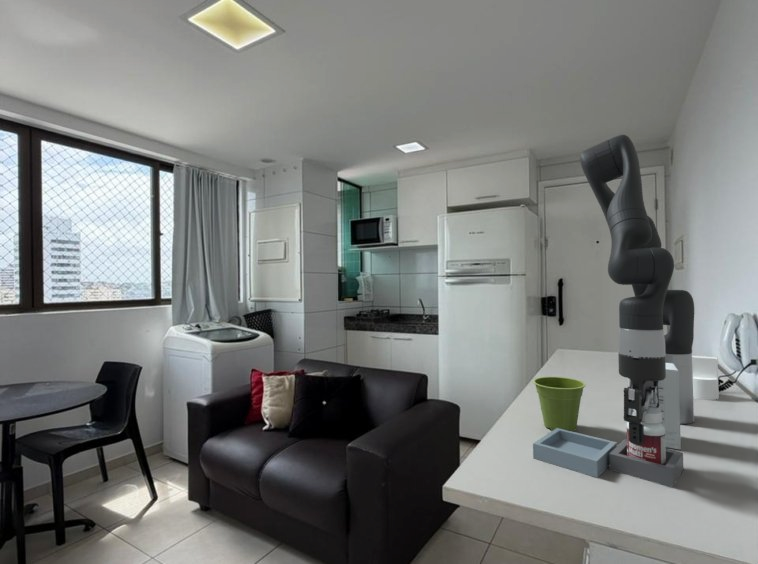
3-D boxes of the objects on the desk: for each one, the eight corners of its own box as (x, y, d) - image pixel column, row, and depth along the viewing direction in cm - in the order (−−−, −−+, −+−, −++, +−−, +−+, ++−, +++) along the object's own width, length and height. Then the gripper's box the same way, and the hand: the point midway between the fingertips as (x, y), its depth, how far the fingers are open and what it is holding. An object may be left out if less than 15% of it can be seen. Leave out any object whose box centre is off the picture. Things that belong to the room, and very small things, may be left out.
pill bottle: (624, 470, 75) (623, 410, 75) (630, 459, 80) (628, 402, 80) (664, 480, 71) (663, 417, 71) (667, 467, 76) (666, 408, 76)
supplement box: (681, 450, 83) (679, 370, 84) (629, 442, 88) (628, 366, 88) (676, 435, 92) (674, 362, 92) (629, 428, 96) (627, 359, 97)
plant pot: (527, 419, 104) (526, 376, 104) (573, 419, 104) (572, 376, 104) (544, 437, 92) (543, 388, 92) (596, 436, 92) (595, 387, 92)
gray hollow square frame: (624, 453, 83) (624, 439, 83) (683, 468, 76) (683, 452, 76) (609, 469, 76) (609, 453, 76) (672, 487, 69) (672, 470, 69)
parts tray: (557, 441, 90) (556, 427, 90) (617, 457, 81) (616, 442, 81) (533, 458, 81) (532, 443, 81) (597, 477, 73) (596, 461, 73)
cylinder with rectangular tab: (716, 394, 124) (714, 355, 124) (721, 401, 116) (720, 360, 116) (679, 390, 129) (678, 353, 129) (682, 397, 121) (681, 358, 121)
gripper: (629, 346, 84) (631, 423, 83) (607, 354, 74) (608, 442, 74) (673, 350, 78) (675, 433, 78) (655, 359, 68) (657, 454, 68)
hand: (642, 437), depth 76 cm, fingers open, 8 cm apart
